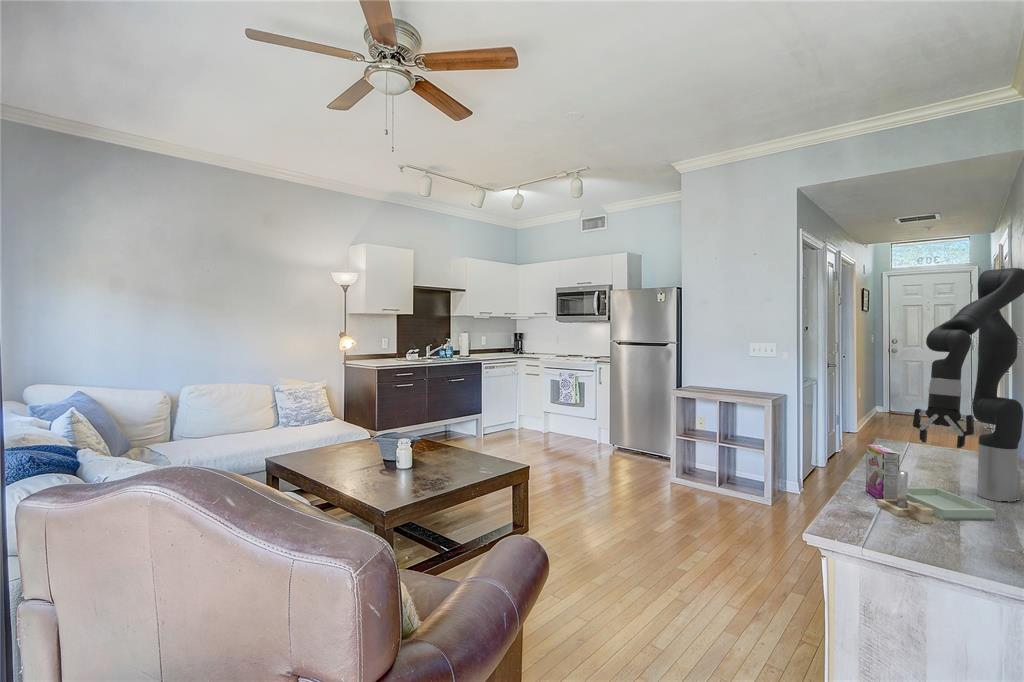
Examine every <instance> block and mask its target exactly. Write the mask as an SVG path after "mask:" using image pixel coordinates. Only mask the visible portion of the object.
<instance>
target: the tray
mask: <svg viewBox="0 0 1024 682" xmlns="http://www.w3.org/2000/svg"><path fill="white" fill-rule="evenodd" d="M907 500H908V501H910V502H912V503H919V504H922V505H924V506H926V507H928V508H931V509H933V517H935V518H937V519H940V520H941V521H996V509H993V508H990V507H988V506H987V505H983V504H981V503H978V502H975V501H972V500H971V499H968V498H966V497H962V496H960V495H957V494H955V493H952V492H949V491H948V490H945V489H942V488H939V487H907Z"/></svg>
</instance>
